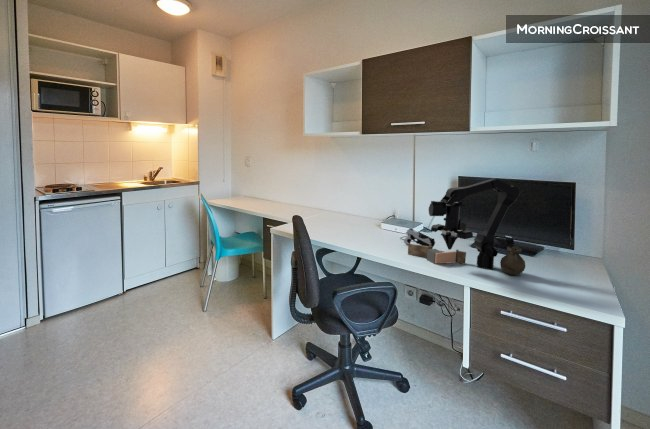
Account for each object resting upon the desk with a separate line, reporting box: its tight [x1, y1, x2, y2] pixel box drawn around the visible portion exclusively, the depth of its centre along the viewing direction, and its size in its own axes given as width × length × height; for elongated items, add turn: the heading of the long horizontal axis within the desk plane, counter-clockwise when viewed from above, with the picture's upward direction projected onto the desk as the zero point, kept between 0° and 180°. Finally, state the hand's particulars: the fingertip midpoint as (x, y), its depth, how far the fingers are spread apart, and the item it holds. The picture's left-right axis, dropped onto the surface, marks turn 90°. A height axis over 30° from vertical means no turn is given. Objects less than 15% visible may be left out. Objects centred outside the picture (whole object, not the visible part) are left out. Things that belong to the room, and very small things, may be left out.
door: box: [434, 250, 456, 265], centre depth 165 cm, size 11×1×5 cm, turn 107°
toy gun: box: [403, 228, 436, 249], centre depth 192 cm, size 2×17×10 cm, turn 51°
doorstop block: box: [426, 248, 442, 265], centre depth 167 cm, size 6×4×6 cm
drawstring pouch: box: [499, 245, 526, 276], centre depth 150 cm, size 10×10×12 cm
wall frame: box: [407, 243, 467, 264], centre depth 172 cm, size 28×2×6 cm, turn 59°
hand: (449, 249), depth 158 cm, fingers closed
